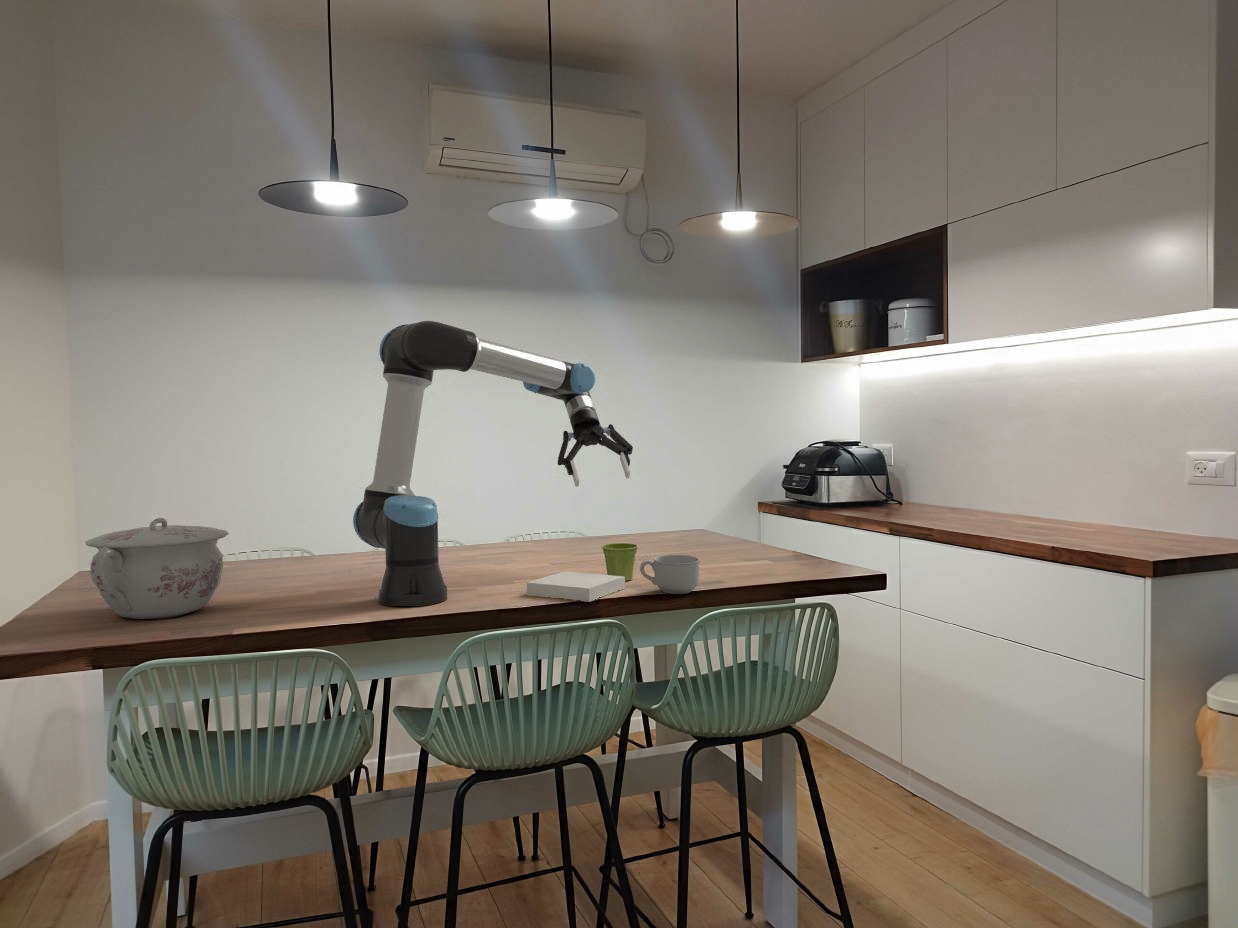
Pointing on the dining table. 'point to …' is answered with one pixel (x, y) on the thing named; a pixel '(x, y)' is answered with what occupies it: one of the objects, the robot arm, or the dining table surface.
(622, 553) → the plant pot
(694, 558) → the teacup
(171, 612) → the chamber pot
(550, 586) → the plinth
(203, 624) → the dining table surface
